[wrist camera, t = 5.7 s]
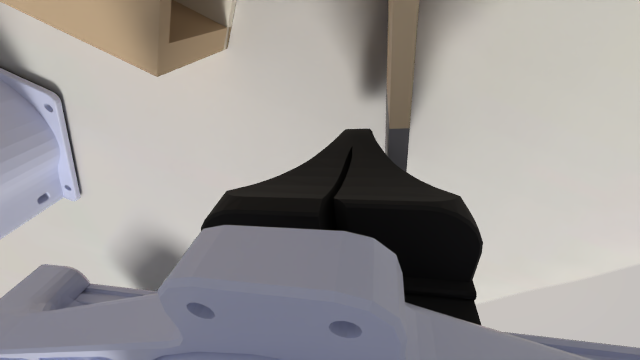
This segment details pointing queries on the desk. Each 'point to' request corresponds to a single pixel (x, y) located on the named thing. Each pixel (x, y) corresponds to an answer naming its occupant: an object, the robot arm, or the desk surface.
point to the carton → (141, 27)
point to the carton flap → (400, 77)
